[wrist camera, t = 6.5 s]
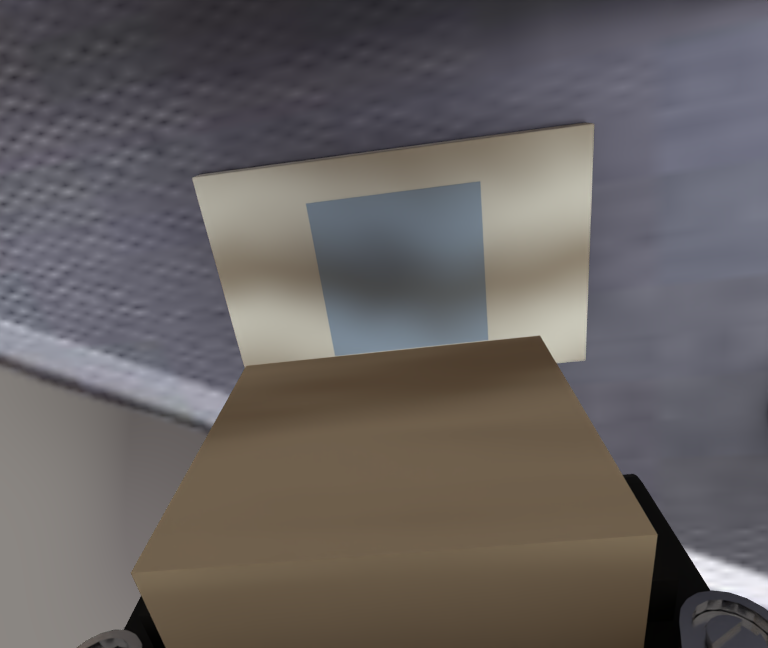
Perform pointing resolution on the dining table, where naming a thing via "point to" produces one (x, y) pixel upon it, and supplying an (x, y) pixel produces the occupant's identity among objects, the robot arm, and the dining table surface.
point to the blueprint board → (407, 246)
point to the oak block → (402, 511)
